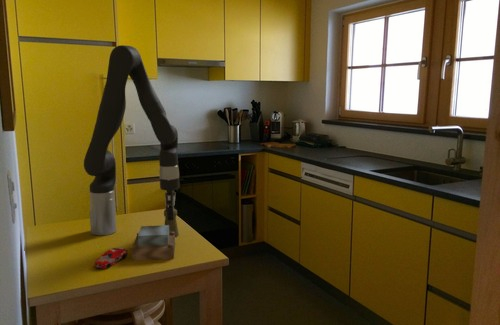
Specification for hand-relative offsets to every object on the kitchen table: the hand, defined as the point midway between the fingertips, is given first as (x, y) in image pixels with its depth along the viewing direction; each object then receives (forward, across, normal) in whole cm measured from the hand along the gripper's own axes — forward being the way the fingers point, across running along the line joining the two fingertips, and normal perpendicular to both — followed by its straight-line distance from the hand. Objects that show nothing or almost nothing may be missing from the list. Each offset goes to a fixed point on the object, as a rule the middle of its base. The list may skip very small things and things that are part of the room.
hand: (171, 216), depth 164 cm
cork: (+8, 0, 0) cm, 8 cm away
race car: (+8, +23, -19) cm, 31 cm away
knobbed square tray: (+8, +16, -5) cm, 18 cm away
